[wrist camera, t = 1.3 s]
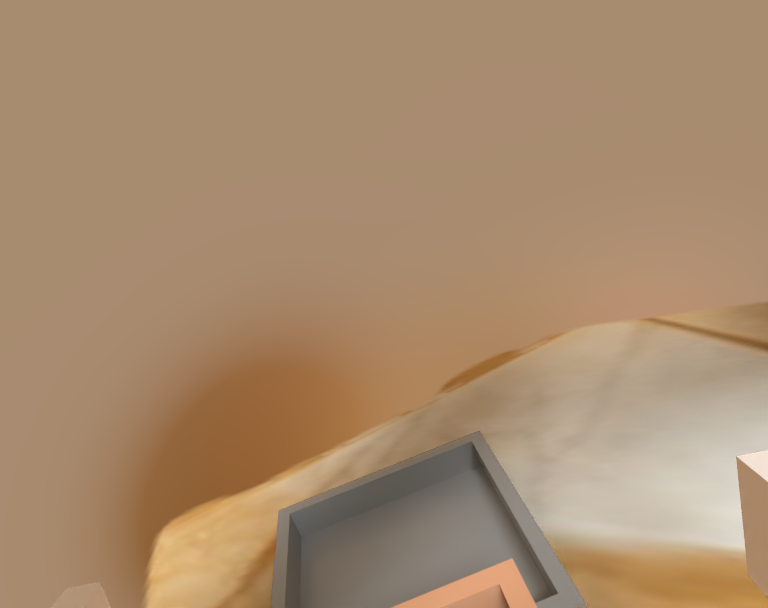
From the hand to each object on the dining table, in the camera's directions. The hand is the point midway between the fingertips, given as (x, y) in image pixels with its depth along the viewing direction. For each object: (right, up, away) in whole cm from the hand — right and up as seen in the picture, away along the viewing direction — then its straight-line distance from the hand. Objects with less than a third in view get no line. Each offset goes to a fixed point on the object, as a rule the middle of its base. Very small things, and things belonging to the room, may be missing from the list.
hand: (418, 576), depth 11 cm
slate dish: (+1, -14, +26) cm, 30 cm away
